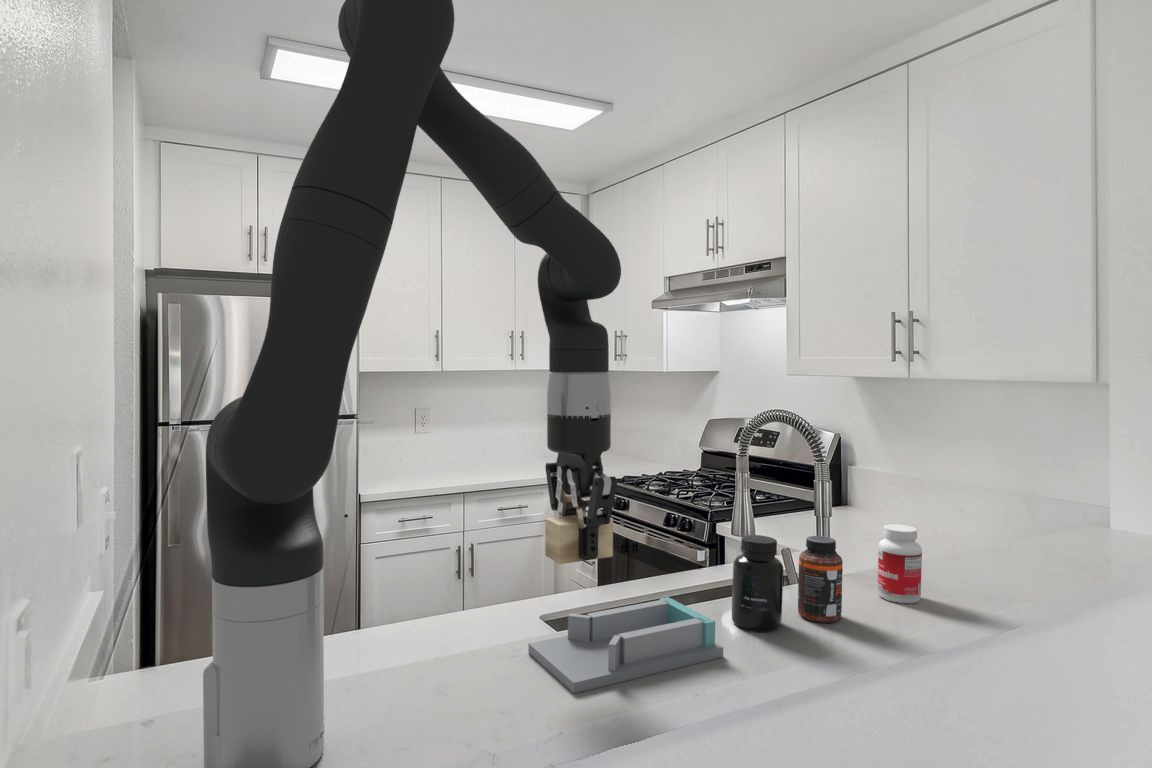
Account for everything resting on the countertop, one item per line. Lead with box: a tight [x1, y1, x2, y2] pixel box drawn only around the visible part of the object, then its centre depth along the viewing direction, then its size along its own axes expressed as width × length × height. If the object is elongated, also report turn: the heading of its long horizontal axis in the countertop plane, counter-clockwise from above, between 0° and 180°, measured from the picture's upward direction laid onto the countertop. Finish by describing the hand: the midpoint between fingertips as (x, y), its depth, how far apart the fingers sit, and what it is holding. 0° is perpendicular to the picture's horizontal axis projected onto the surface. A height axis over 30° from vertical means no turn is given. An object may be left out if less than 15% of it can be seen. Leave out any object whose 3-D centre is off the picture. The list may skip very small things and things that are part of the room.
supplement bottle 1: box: [731, 534, 784, 633], centre depth 98 cm, size 7×7×12 cm
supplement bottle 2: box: [797, 535, 843, 624], centre depth 101 cm, size 6×6×11 cm
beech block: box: [544, 513, 614, 565], centre depth 83 cm, size 7×4×4 cm, turn 116°
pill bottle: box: [876, 523, 923, 604], centre depth 109 cm, size 6×6×11 cm
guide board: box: [528, 596, 724, 694], centre depth 87 cm, size 21×12×4 cm, turn 118°
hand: (578, 553), depth 83 cm, fingers closed on beech block, 4 cm apart
